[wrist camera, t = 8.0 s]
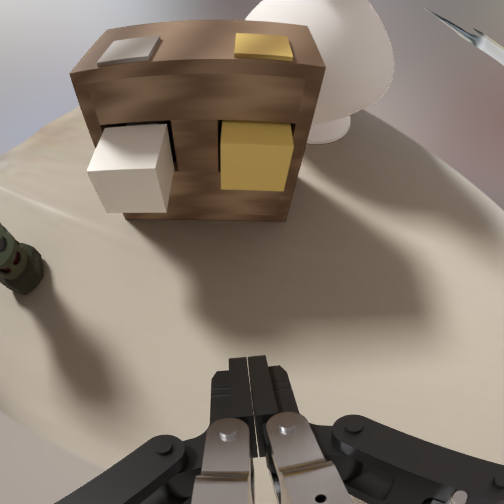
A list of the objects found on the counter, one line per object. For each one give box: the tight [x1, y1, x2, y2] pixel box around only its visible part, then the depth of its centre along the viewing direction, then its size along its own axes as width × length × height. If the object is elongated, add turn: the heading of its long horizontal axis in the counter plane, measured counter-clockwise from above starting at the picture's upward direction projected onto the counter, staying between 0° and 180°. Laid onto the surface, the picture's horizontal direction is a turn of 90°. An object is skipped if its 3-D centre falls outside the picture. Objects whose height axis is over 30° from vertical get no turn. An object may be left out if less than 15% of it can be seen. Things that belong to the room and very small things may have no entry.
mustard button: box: [220, 120, 294, 192], centre depth 22 cm, size 4×6×4 cm
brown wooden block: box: [70, 20, 326, 222], centre depth 23 cm, size 15×7×16 cm, turn 91°
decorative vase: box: [245, 0, 394, 144], centre depth 27 cm, size 18×18×25 cm
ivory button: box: [87, 121, 174, 213], centre depth 20 cm, size 4×6×4 cm
